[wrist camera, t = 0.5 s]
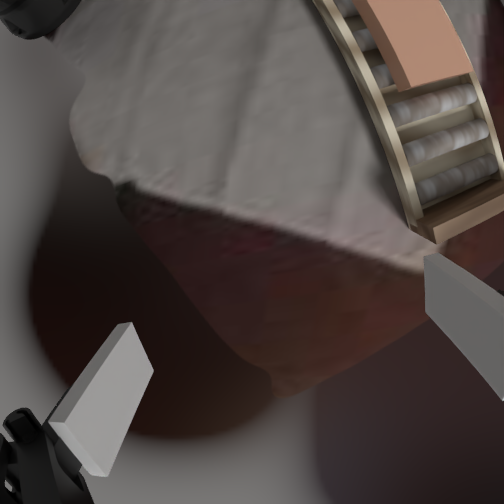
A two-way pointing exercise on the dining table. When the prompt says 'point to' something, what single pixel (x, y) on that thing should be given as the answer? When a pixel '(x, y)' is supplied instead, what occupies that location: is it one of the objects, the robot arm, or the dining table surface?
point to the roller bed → (426, 134)
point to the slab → (414, 40)
